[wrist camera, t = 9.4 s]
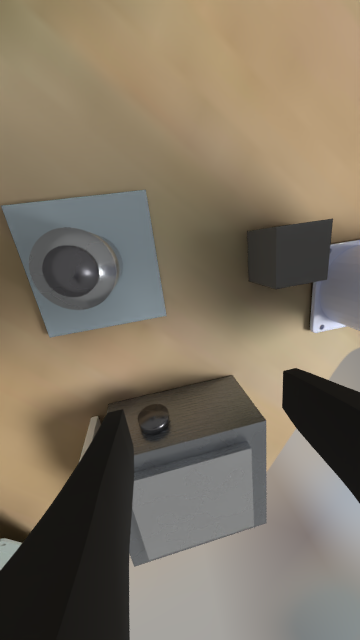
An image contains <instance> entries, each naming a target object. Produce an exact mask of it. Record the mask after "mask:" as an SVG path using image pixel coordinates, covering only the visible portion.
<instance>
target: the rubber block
mask: <svg viewBox="0 0 360 640" xmlns="http://www.w3.org/2000/svg"><path fill="white" fill-rule="evenodd" d="M332 223H333V219H327V220H320V221H313V222H306V223H299V224H293V225H286V226H279V227H272V228H266V229H259V230H252V231H247V241H248V274H249V281H250V282H253V283H257V284H260V285H263V286H267V287H270V288H273V289H280V288H285V287H290V286H296V285H301V284H307V283H312V282H317V281H323V280H327V277H328V266H329V255H330V244H331V233H332Z"/></svg>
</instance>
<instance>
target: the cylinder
mask: <svg viewBox="0 0 360 640" xmlns="http://www.w3.org/2000/svg"><path fill="white" fill-rule="evenodd" d="M122 270H123V262H122V258H121V255H120V253H119V251H118V249H117V248H116V247H115V245H114V244H113V243H112V242H110V241H109V240H108V239H106V238H104V237H102V236H99V235H96V234H93V233H90V232H87V231H84V230H81V229H77V228H71V227H63V228H57V229H53V230H51V231H49V232H47V233H45V234H44V235H42V236H41V237H40V238H39V239H38V240H37V241H36V242H35V244H34V246H33V247H32V250H31V252H30V257H29V271H30V275H31V278H32V280H33V282H34V284H35V286H36V288H37V289H38V290H39V292H40V293H41V294H42V295H43V296H44V297H45V298H46V299H48V300H49V301H50V302H52V303H54V304H56V305H58V306H60V307H63V308H66V309H71V310H85V309H89V308H93V307H95V306H97V305H99V304H100V303H102V302H103V301H104V300H105V299H106V298H107V297H108V296H109V295H110V293H111V292H112V290H113V289H114V287H115V285H116V284H117V282H118V281H119V279H120V277H121V274H122Z"/></svg>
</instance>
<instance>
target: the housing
mask: <svg viewBox="0 0 360 640" xmlns="http://www.w3.org/2000/svg"><path fill="white" fill-rule="evenodd" d="M121 409H123V410H124V414H125V417H126V421H127V424H128V428H129V432H130V435H131V439H132V442H133V446H134V488H133V503H132V518H131V532H130V548H129V553H130V556H131V559H132V561H133V564H134V566H138V565H141V564H144V563H147V562H150V561H153V560H156V559H159V558H162V557H165V556H168V555H171V554H174V553H177V552H180V551H183V550H186V549H189V548H192V547H195V546H199V545H201V544H205V543H208V542H211V541H214V540H217V539H220V538H223V537H226V536H229V535H232V534H235V533H238V532H241V531H244V530H247V529H250V528H253V527H256V526H259V525H262V524H265V523H266V420H265V418H264V417H263V416H262V414H261V413H260V412H259V410H258V409H257V408H256V406H255V405H254V404H253V402H252V401H251V400H250V398H249V397H248V395H247V394H246V393H245V391H244V390H243V389H242V387H241V386H240V385H239V383H238V382H237V381H236V379H235V378H234V377H233V375H232V376H228V377H223V378H219V379H215V380H210V381H206V382H202V383H197V384H193V385H189V386H184V387H180V388H176V389H171V390H167V391H163V392H158V393H154V394H150V395H145V396H141V397H137V398H132V399H128V400H124V401H119V402H115V403H111V404H108V409H107V413H108V412H112V411H116V410H121Z"/></svg>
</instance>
